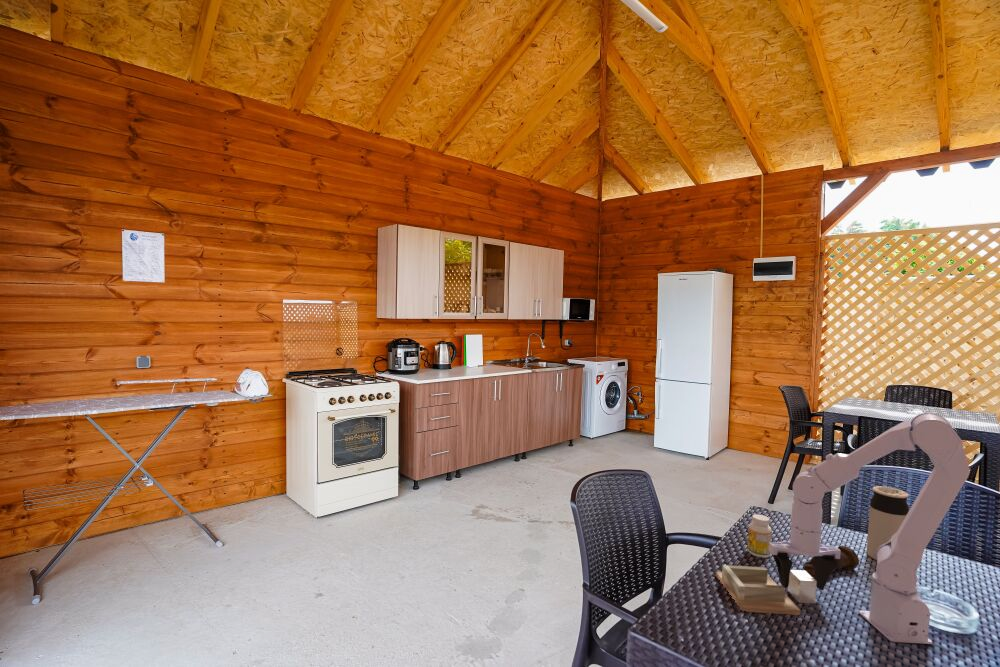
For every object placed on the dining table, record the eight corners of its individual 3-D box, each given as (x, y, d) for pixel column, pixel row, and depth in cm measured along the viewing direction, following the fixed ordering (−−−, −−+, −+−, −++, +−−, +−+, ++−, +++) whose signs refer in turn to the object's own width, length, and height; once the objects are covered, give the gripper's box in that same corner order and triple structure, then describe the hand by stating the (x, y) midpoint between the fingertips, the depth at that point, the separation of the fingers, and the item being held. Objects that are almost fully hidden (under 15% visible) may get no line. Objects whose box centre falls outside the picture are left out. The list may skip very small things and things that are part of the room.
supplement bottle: (771, 560, 128) (774, 523, 127) (748, 555, 130) (750, 519, 129) (768, 550, 133) (770, 515, 133) (746, 546, 135) (748, 511, 134)
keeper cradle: (800, 614, 105) (801, 596, 104) (741, 611, 105) (743, 592, 105) (767, 578, 119) (768, 562, 118) (716, 575, 119) (717, 559, 119)
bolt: (804, 583, 121) (844, 570, 127) (823, 582, 117) (863, 569, 123) (794, 557, 123) (833, 545, 129) (812, 556, 119) (852, 544, 125)
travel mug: (859, 553, 133) (864, 487, 132) (879, 549, 136) (884, 484, 135) (891, 568, 126) (897, 498, 125) (912, 563, 129) (917, 494, 128)
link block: (815, 603, 109) (816, 581, 109) (798, 602, 109) (800, 580, 109) (803, 591, 114) (804, 570, 113) (787, 591, 114) (789, 569, 114)
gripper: (828, 521, 114) (823, 578, 115) (763, 517, 115) (759, 574, 116) (848, 535, 107) (843, 596, 108) (779, 531, 108) (775, 592, 109)
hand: (801, 586), depth 111 cm, fingers open, 7 cm apart
